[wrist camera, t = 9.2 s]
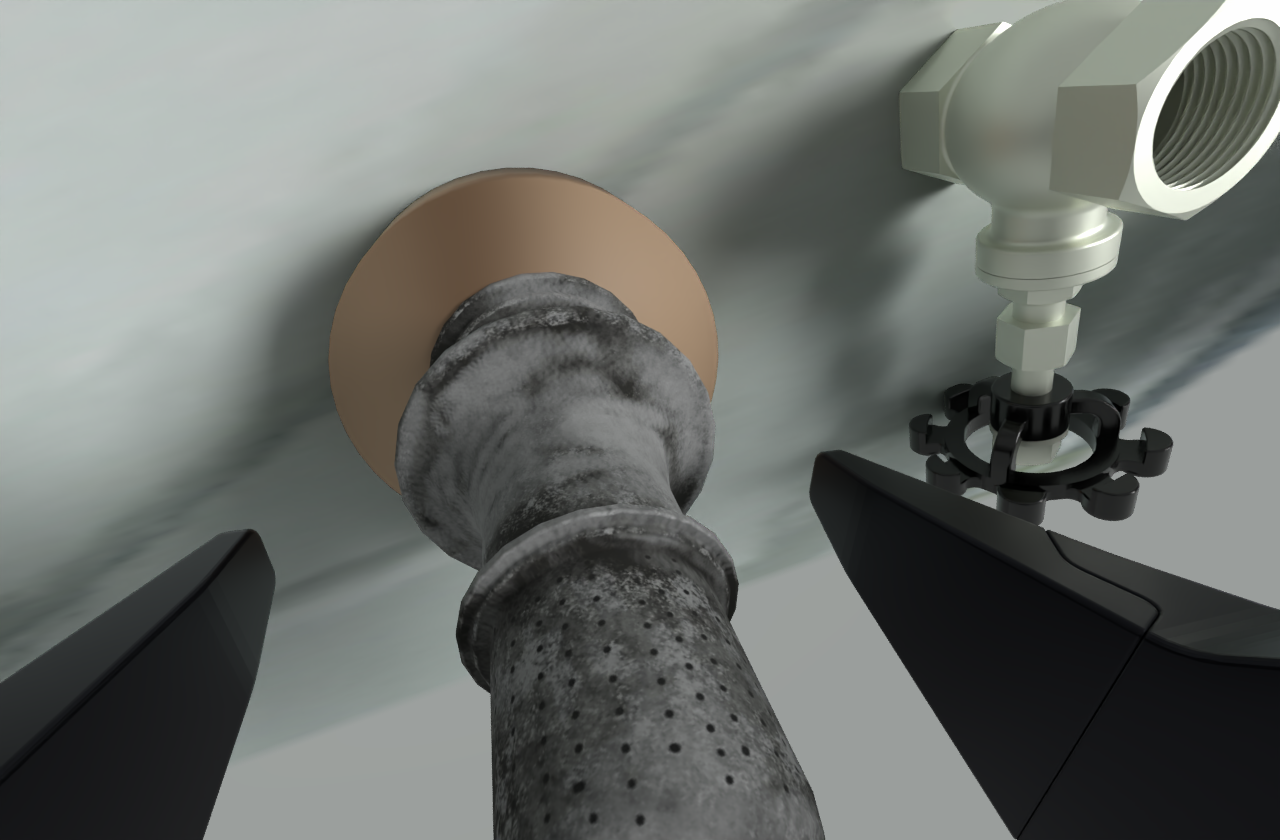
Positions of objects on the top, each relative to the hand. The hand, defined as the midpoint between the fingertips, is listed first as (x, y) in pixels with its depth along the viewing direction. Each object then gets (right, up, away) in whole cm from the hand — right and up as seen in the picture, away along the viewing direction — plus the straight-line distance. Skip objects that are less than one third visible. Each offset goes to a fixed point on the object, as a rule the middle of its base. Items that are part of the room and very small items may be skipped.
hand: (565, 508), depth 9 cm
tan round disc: (-2, +3, +6) cm, 8 cm away
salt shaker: (-1, +2, +4) cm, 5 cm away
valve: (+11, +7, +8) cm, 15 cm away
